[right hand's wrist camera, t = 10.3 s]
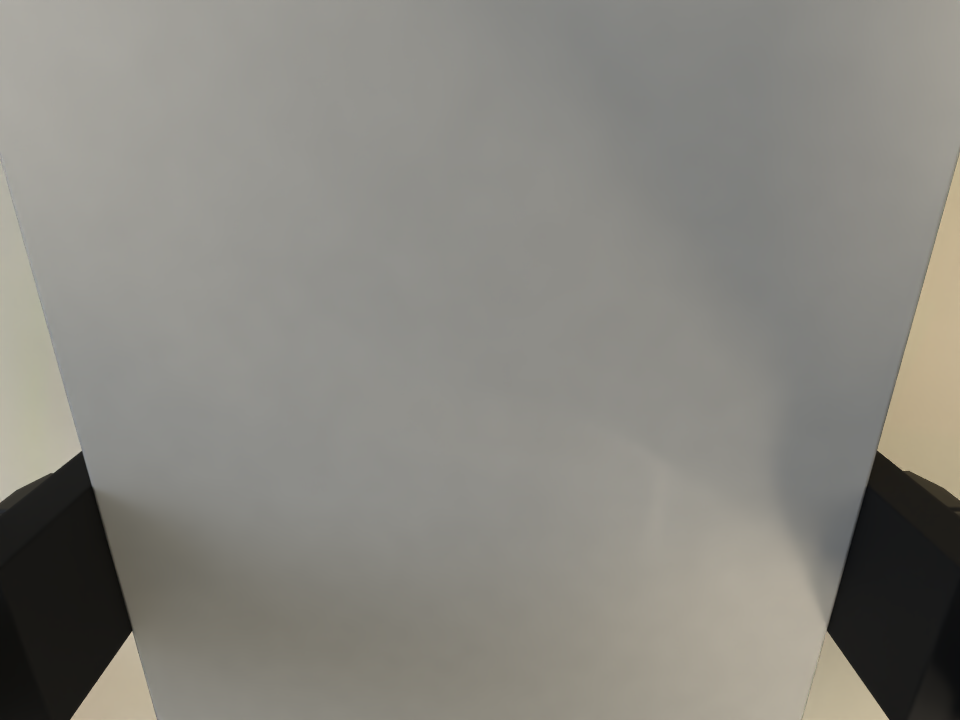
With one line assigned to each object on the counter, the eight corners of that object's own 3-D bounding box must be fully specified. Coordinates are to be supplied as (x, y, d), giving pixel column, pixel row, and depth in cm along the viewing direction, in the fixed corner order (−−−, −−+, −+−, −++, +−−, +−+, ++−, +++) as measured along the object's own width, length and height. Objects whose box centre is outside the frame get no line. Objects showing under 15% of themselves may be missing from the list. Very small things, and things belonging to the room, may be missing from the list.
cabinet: (233, -159, 13) (-258, -746, 4) (724, -158, 13) (1215, -746, 4) (311, 486, 19) (171, 779, 10) (647, 486, 19) (787, 779, 10)
